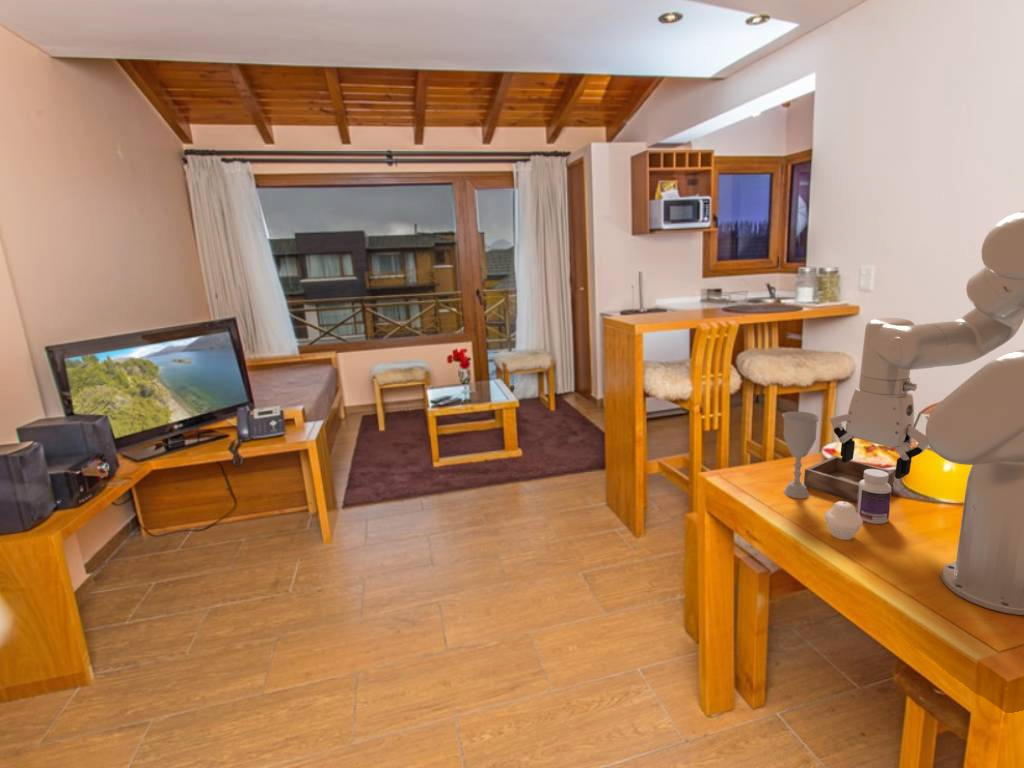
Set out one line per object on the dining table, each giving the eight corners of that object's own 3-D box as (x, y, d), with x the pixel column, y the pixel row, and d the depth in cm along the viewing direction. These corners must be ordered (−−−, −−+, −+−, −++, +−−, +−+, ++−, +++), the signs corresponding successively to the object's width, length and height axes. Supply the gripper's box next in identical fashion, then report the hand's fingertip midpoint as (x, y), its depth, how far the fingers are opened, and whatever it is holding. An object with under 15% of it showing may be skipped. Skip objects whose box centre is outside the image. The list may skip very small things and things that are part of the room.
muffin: (842, 547, 97) (845, 512, 95) (815, 531, 103) (817, 498, 101) (869, 540, 98) (872, 505, 97) (841, 525, 104) (843, 492, 103)
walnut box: (892, 488, 117) (894, 471, 116) (863, 505, 111) (864, 487, 110) (834, 471, 128) (835, 455, 127) (803, 486, 122) (804, 469, 121)
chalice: (772, 493, 119) (776, 416, 115) (785, 484, 123) (789, 409, 119) (807, 503, 114) (812, 423, 109) (820, 493, 118) (825, 415, 114)
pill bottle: (895, 524, 103) (899, 477, 101) (866, 525, 103) (870, 479, 101) (876, 511, 108) (881, 466, 106) (850, 512, 109) (853, 468, 106)
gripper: (947, 389, 95) (933, 478, 99) (845, 373, 109) (837, 450, 113) (927, 398, 91) (914, 489, 95) (825, 380, 105) (818, 459, 110)
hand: (872, 468), depth 104 cm, fingers open, 9 cm apart
